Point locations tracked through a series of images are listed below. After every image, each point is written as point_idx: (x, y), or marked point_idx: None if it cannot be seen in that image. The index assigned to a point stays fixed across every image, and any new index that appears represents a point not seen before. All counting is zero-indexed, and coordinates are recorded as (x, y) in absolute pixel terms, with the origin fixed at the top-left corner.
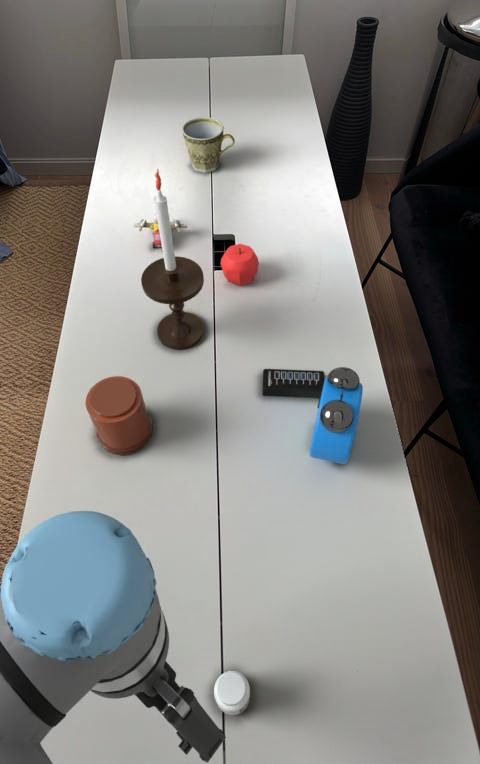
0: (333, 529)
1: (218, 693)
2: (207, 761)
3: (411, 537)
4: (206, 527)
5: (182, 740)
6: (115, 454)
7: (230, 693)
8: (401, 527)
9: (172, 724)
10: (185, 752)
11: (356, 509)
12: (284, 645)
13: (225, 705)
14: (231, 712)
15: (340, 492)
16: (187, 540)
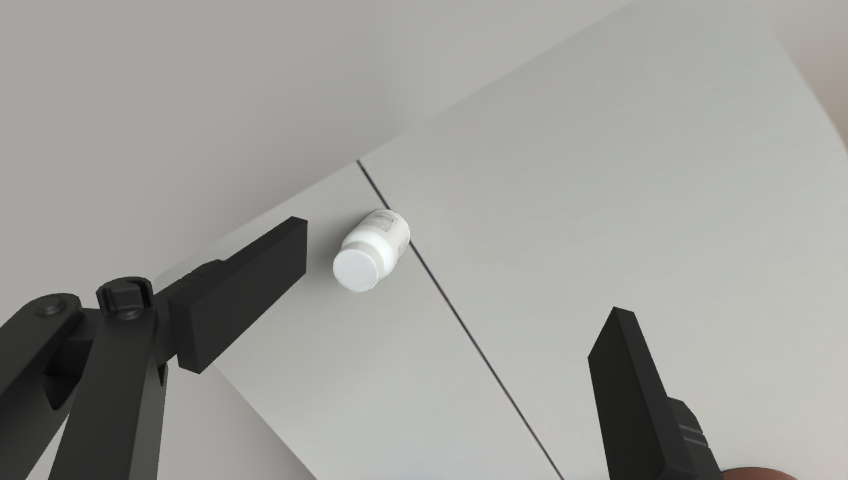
0: (376, 439)
1: (367, 257)
2: (23, 308)
3: (298, 450)
4: (536, 405)
5: (154, 302)
6: (752, 468)
7: (351, 264)
8: (312, 457)
9: (67, 421)
10: (100, 294)
11: (364, 464)
12: (360, 308)
13: (361, 237)
14: (359, 225)
15: (390, 477)
16: (555, 383)
